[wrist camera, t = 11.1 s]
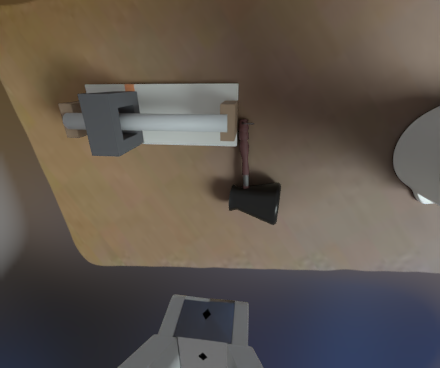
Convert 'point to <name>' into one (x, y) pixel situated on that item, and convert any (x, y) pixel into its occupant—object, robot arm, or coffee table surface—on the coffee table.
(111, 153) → the collar
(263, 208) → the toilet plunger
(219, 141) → the rail
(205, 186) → the coffee table surface
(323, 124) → the coffee table surface
